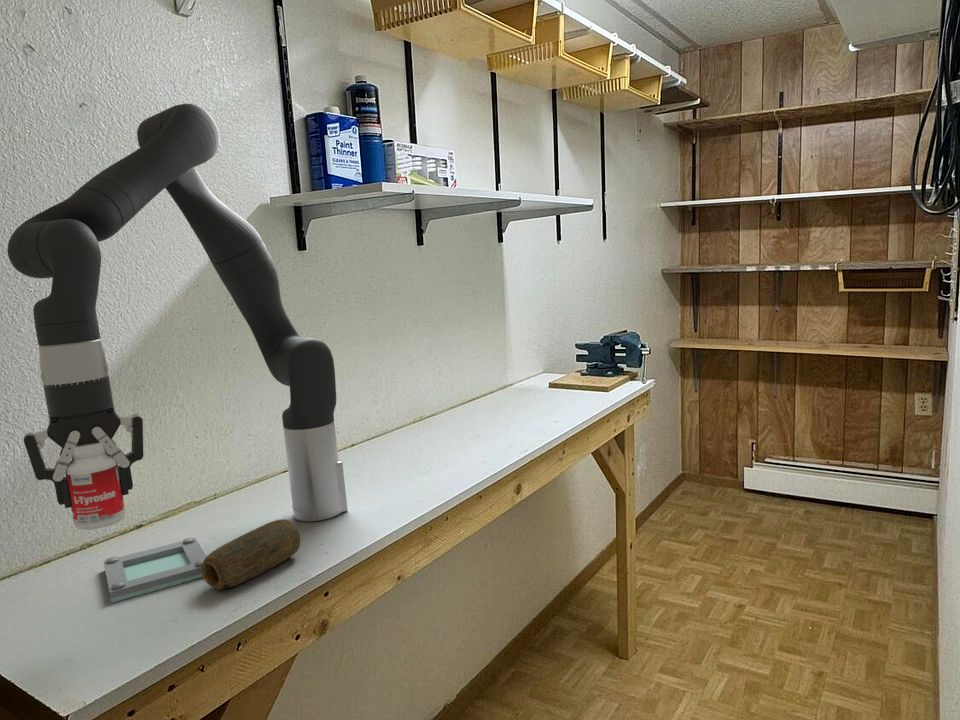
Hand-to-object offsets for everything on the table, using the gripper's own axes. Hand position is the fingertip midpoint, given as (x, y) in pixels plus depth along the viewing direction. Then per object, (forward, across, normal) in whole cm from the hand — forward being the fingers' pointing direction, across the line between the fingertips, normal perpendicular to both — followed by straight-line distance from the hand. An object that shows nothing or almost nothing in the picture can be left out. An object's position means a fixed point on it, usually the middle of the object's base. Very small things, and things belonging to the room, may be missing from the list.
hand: (97, 499), depth 94 cm
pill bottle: (+3, 0, 0) cm, 3 cm away
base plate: (+17, -7, -13) cm, 23 cm away
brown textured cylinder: (+18, -19, -2) cm, 26 cm away
